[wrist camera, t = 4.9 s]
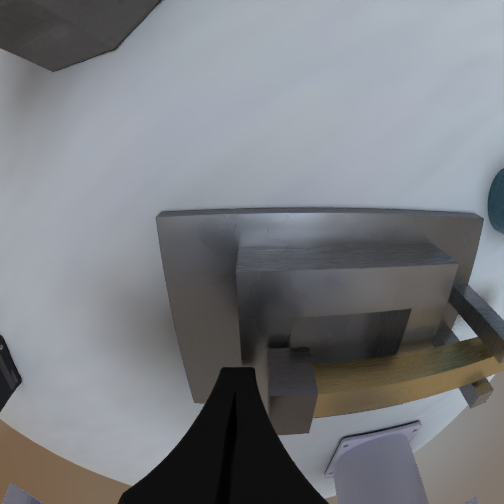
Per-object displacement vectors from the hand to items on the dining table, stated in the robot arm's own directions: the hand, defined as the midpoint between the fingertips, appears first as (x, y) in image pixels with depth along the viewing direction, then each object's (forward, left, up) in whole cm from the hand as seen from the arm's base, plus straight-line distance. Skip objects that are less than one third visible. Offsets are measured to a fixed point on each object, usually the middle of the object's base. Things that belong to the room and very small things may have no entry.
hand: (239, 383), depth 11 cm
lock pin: (0, -9, -1) cm, 9 cm away
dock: (0, -5, -4) cm, 6 cm away
